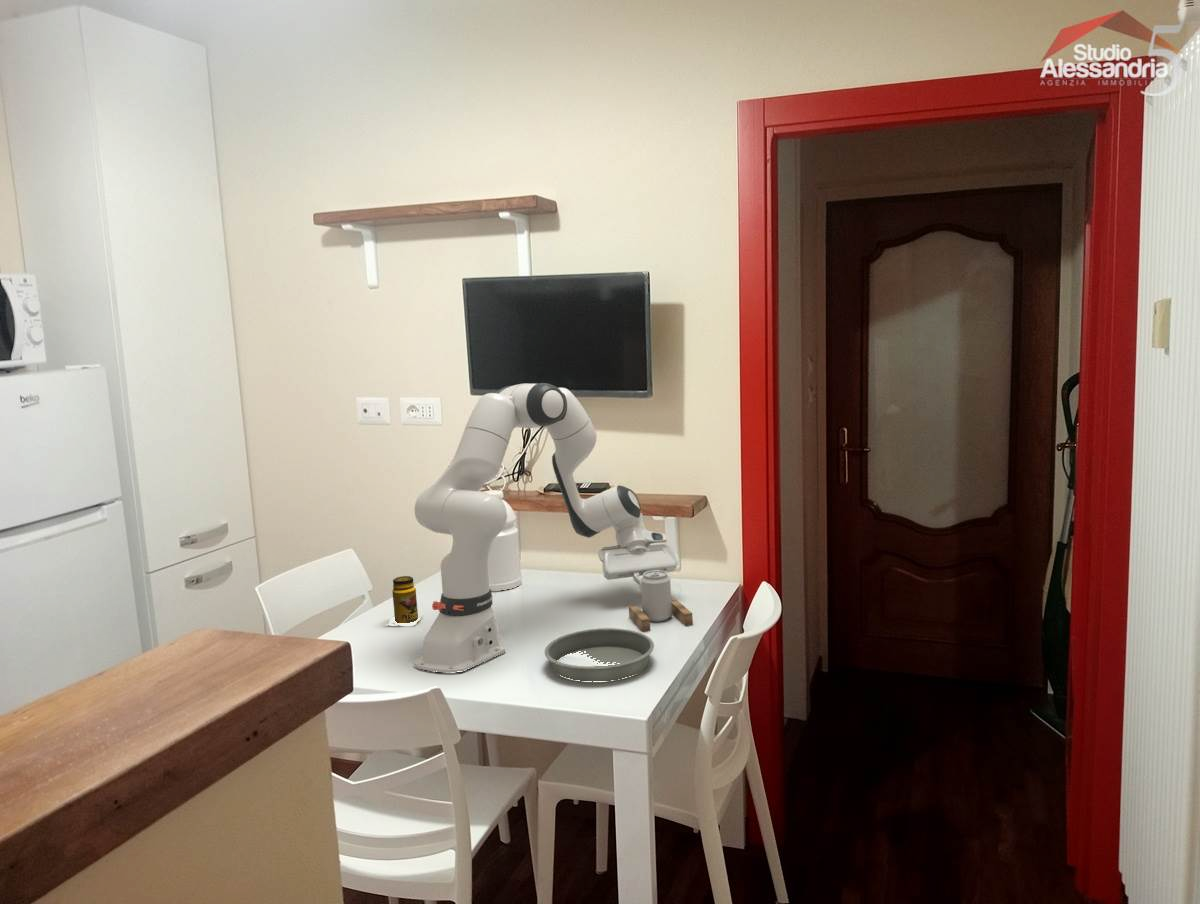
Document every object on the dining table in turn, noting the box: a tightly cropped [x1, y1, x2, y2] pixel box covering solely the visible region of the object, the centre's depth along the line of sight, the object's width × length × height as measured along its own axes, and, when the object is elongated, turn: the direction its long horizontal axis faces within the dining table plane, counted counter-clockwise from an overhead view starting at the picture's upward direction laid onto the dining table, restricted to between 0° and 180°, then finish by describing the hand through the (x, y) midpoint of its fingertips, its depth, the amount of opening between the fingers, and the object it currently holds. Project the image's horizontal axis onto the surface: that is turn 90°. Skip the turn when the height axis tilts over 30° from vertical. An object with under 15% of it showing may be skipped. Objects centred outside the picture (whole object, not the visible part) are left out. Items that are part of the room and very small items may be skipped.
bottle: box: [483, 489, 522, 592], centre depth 276 cm, size 14×14×28 cm
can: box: [640, 570, 673, 623], centre depth 241 cm, size 8×8×12 cm
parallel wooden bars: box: [628, 599, 694, 633], centre depth 239 cm, size 12×13×3 cm
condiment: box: [391, 575, 419, 623], centre depth 249 cm, size 7×8×12 cm
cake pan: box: [544, 627, 655, 682], centre depth 212 cm, size 25×25×4 cm
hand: (646, 588), depth 249 cm, fingers closed
